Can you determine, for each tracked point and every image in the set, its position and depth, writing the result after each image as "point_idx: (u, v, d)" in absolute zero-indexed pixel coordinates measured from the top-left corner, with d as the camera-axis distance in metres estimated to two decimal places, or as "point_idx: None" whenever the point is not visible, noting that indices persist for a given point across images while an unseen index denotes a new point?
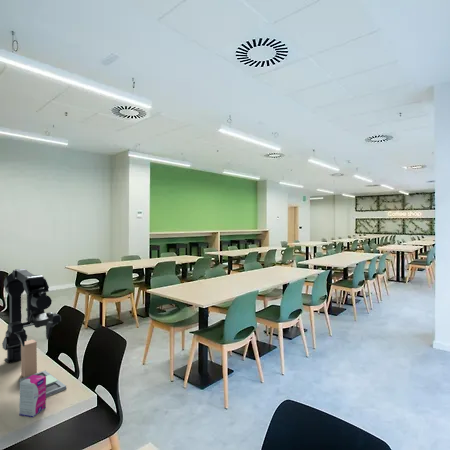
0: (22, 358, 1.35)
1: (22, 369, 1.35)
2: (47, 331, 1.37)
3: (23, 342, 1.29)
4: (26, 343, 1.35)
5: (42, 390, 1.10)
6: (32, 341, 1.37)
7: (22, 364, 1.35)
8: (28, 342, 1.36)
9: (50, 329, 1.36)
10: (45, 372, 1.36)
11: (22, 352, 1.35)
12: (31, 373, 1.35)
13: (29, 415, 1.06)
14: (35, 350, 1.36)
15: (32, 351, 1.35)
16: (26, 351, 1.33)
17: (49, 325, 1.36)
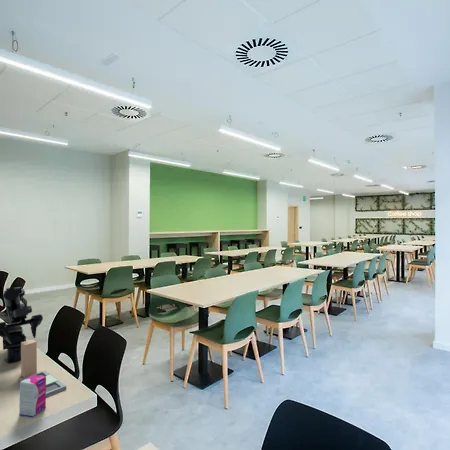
0: (22, 358, 1.35)
1: (22, 369, 1.35)
2: (33, 330, 1.45)
3: (10, 339, 1.37)
4: (26, 343, 1.35)
5: (43, 390, 1.10)
6: (32, 341, 1.37)
7: (22, 364, 1.35)
8: (28, 342, 1.36)
9: (34, 327, 1.46)
10: (45, 372, 1.36)
11: (22, 352, 1.35)
12: (31, 373, 1.35)
13: (29, 415, 1.06)
14: (35, 350, 1.36)
15: (32, 351, 1.35)
16: (26, 351, 1.34)
17: (32, 324, 1.46)
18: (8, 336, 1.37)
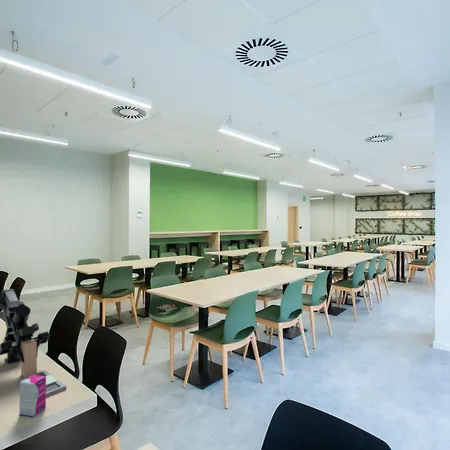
0: None
1: (22, 369, 1.35)
2: None
3: (22, 357, 1.34)
4: (26, 343, 1.35)
5: (42, 390, 1.10)
6: (32, 341, 1.37)
7: (22, 364, 1.35)
8: (28, 342, 1.36)
9: None
10: (45, 372, 1.36)
11: (22, 352, 1.35)
12: (31, 373, 1.35)
13: (29, 415, 1.06)
14: (35, 350, 1.36)
15: (32, 351, 1.35)
16: (26, 351, 1.33)
17: None
18: (20, 354, 1.34)
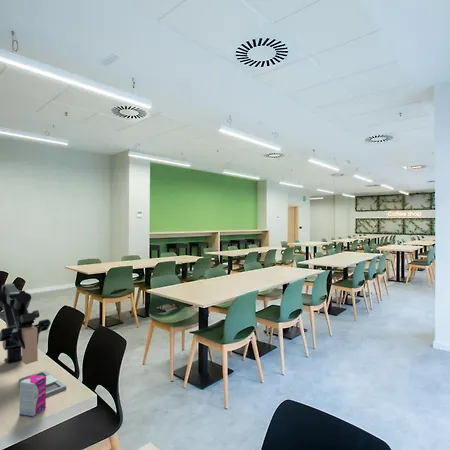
0: None
1: (23, 356, 1.34)
2: None
3: (23, 343, 1.33)
4: (27, 329, 1.34)
5: (43, 390, 1.10)
6: (33, 328, 1.36)
7: (22, 350, 1.35)
8: (29, 328, 1.35)
9: (37, 333, 1.38)
10: (45, 372, 1.36)
11: (23, 338, 1.34)
12: (32, 360, 1.34)
13: (29, 415, 1.06)
14: (36, 337, 1.35)
15: (33, 338, 1.34)
16: (27, 337, 1.33)
17: None
18: (21, 341, 1.33)
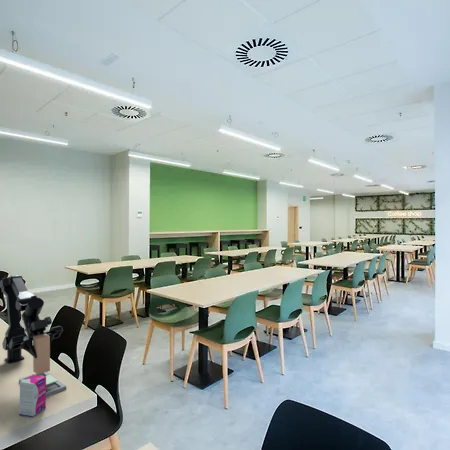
0: None
1: (34, 365, 1.26)
2: None
3: (34, 352, 1.25)
4: (39, 337, 1.26)
5: (43, 390, 1.10)
6: (45, 335, 1.28)
7: (34, 360, 1.26)
8: (41, 336, 1.27)
9: None
10: (45, 372, 1.36)
11: (34, 347, 1.26)
12: (44, 369, 1.26)
13: (29, 415, 1.06)
14: (48, 345, 1.27)
15: (45, 346, 1.26)
16: (39, 346, 1.25)
17: None
18: (33, 349, 1.25)
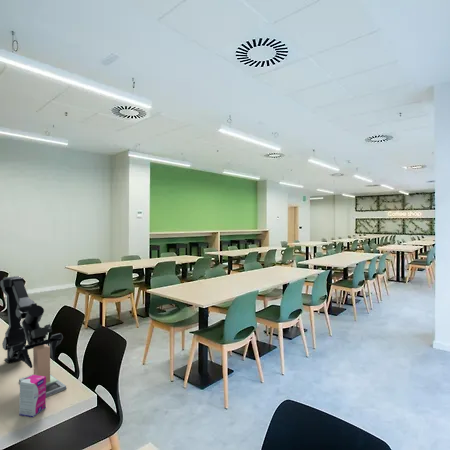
0: (34, 364, 1.26)
1: None
2: (51, 352, 1.31)
3: (30, 362, 1.23)
4: (39, 348, 1.26)
5: (43, 390, 1.10)
6: (45, 346, 1.28)
7: (34, 370, 1.26)
8: (41, 347, 1.27)
9: (53, 348, 1.31)
10: None
11: (35, 358, 1.26)
12: None
13: (29, 415, 1.06)
14: (48, 355, 1.27)
15: (45, 357, 1.26)
16: (39, 357, 1.25)
17: (51, 345, 1.32)
18: (28, 359, 1.24)
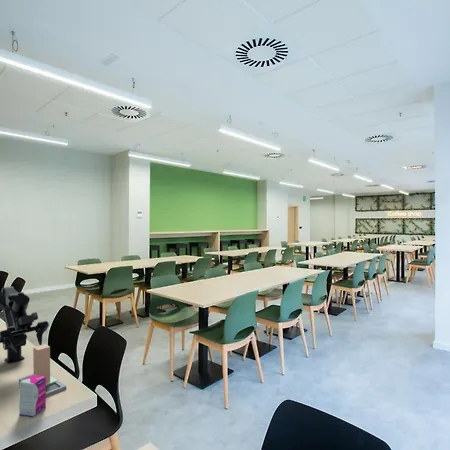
0: (34, 364, 1.26)
1: None
2: (38, 338, 1.41)
3: (15, 347, 1.33)
4: (39, 348, 1.26)
5: (42, 390, 1.10)
6: (45, 346, 1.28)
7: (34, 370, 1.26)
8: (41, 347, 1.27)
9: (40, 334, 1.41)
10: None
11: (35, 358, 1.26)
12: None
13: (29, 415, 1.06)
14: (48, 355, 1.27)
15: (45, 357, 1.26)
16: (39, 357, 1.25)
17: (38, 331, 1.42)
18: (14, 344, 1.33)
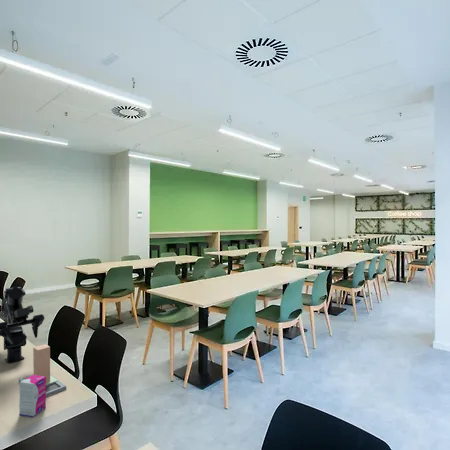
0: (34, 364, 1.26)
1: None
2: (34, 330, 1.44)
3: (11, 339, 1.36)
4: (39, 348, 1.26)
5: (43, 390, 1.10)
6: (45, 346, 1.28)
7: (34, 370, 1.26)
8: (41, 347, 1.27)
9: (36, 327, 1.45)
10: None
11: (35, 358, 1.26)
12: None
13: (29, 415, 1.06)
14: (48, 355, 1.27)
15: (45, 357, 1.26)
16: (39, 357, 1.25)
17: (34, 324, 1.45)
18: (9, 336, 1.36)
